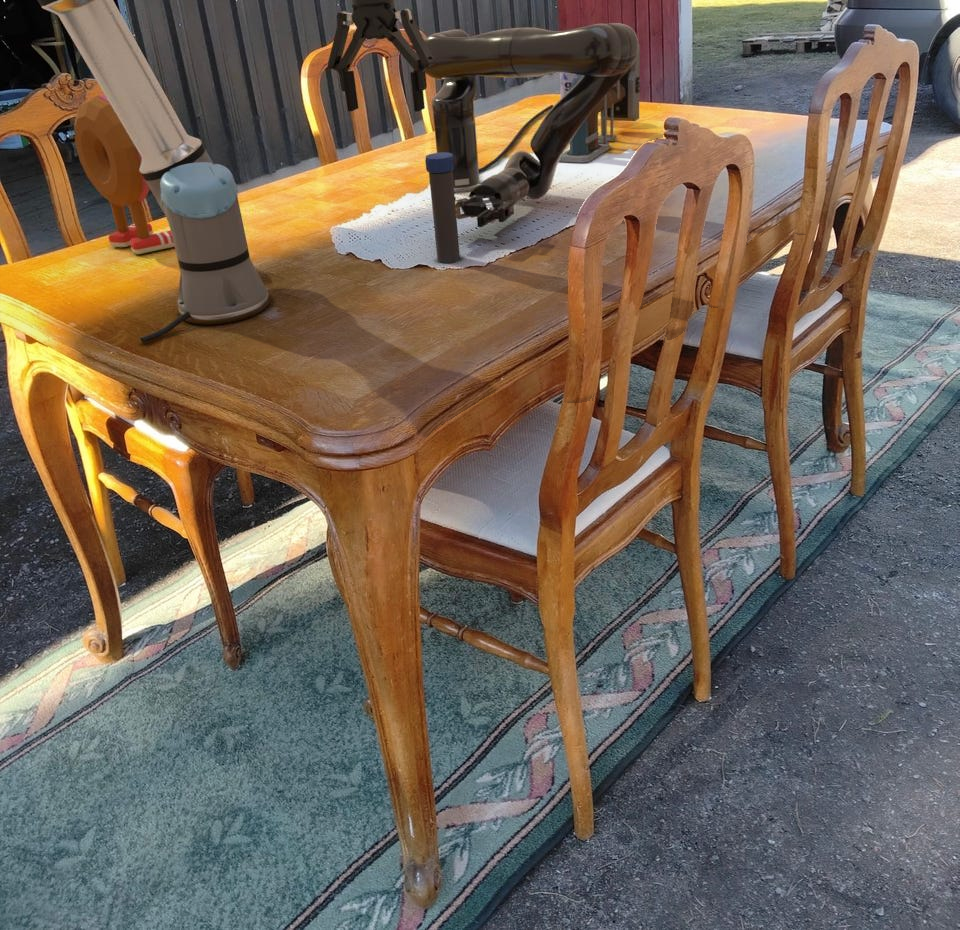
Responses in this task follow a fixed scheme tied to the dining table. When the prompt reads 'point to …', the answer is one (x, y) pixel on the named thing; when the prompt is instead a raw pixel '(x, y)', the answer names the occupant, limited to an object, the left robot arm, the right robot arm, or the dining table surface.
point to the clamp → (606, 117)
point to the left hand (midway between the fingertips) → (386, 110)
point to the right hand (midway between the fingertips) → (458, 220)
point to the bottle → (444, 216)
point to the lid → (439, 162)
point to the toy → (116, 174)
